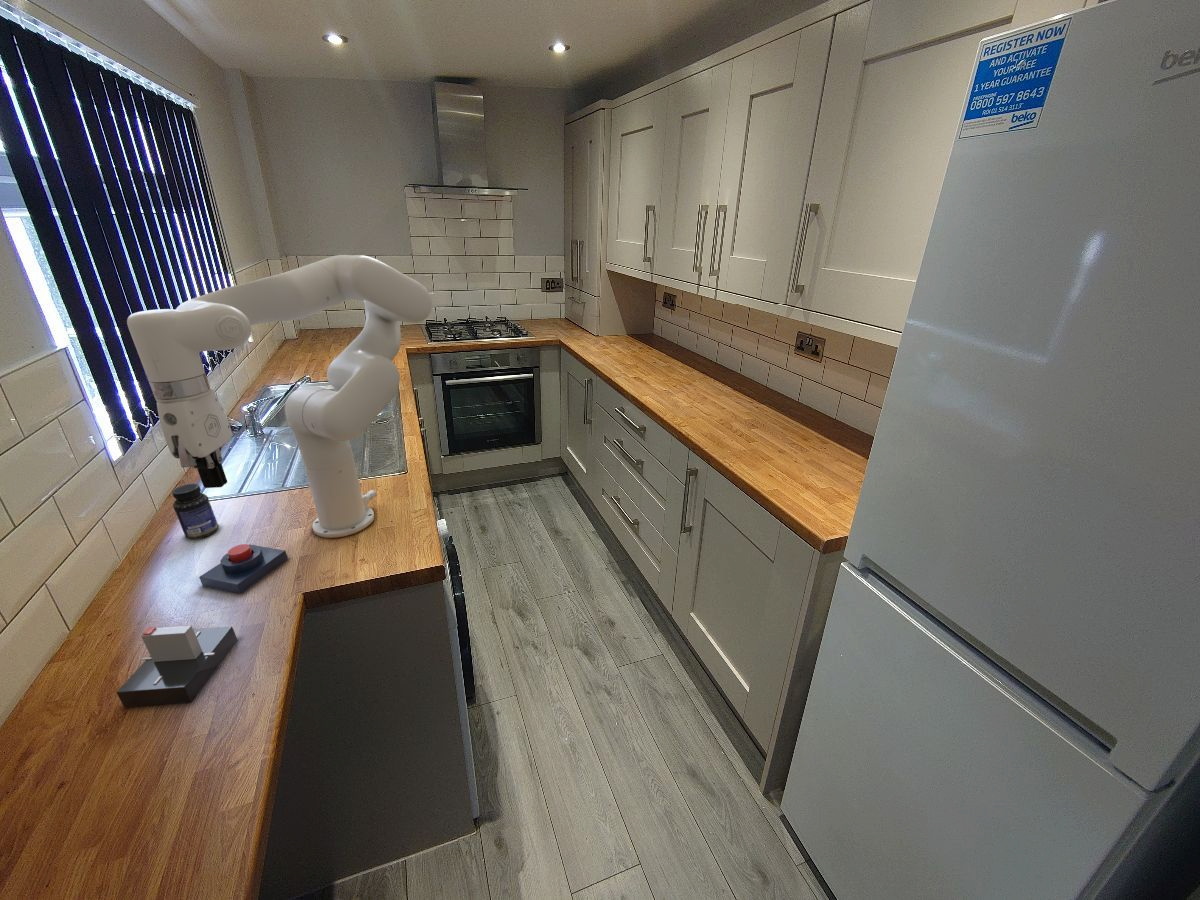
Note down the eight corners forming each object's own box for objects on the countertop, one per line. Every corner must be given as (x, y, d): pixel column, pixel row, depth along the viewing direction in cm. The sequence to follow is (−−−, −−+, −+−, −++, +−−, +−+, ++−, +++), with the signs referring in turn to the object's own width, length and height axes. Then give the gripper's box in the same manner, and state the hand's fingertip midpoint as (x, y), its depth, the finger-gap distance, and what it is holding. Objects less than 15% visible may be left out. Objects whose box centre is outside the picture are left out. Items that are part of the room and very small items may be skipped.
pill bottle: (226, 527, 117) (210, 483, 112) (199, 542, 111) (181, 497, 107) (205, 523, 119) (189, 480, 114) (178, 538, 113) (160, 493, 109)
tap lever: (202, 651, 79) (191, 623, 77) (196, 659, 77) (184, 631, 75) (160, 654, 79) (148, 626, 76) (153, 662, 77) (140, 634, 75)
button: (242, 550, 102) (239, 542, 101) (256, 553, 101) (254, 545, 101) (225, 561, 99) (222, 553, 98) (240, 563, 98) (238, 556, 97)
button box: (252, 553, 108) (246, 536, 106) (288, 559, 105) (283, 542, 104) (202, 586, 98) (195, 569, 96) (240, 594, 96) (234, 576, 94)
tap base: (176, 644, 84) (169, 629, 83) (241, 640, 85) (236, 625, 84) (119, 708, 73) (110, 691, 72) (195, 702, 74) (188, 686, 73)
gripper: (175, 400, 80) (213, 505, 87) (230, 374, 94) (259, 466, 101) (123, 402, 79) (166, 507, 87) (186, 375, 93) (218, 468, 100)
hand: (216, 485), depth 94 cm, fingers closed
